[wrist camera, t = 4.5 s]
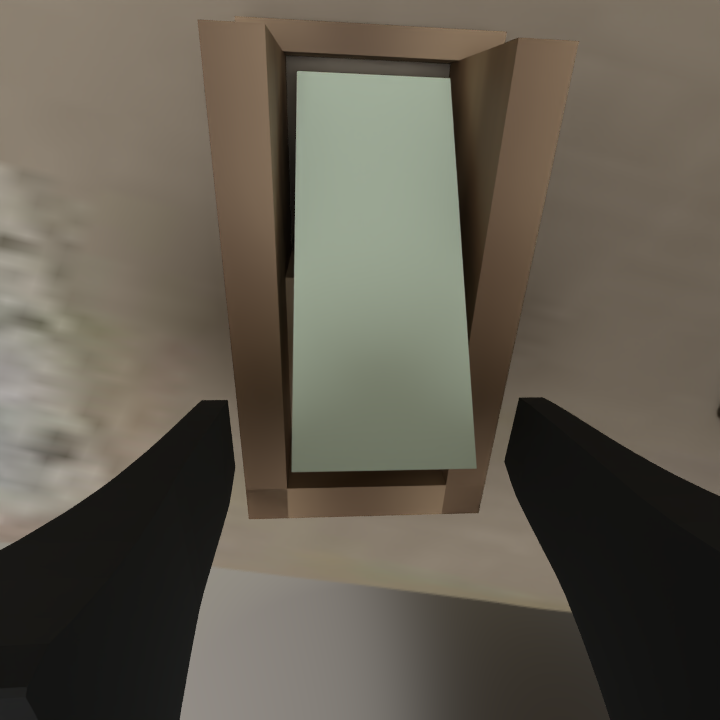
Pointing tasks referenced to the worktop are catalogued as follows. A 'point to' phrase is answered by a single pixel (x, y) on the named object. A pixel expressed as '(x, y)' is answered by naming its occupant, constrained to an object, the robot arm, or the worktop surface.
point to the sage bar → (378, 278)
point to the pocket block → (275, 255)
